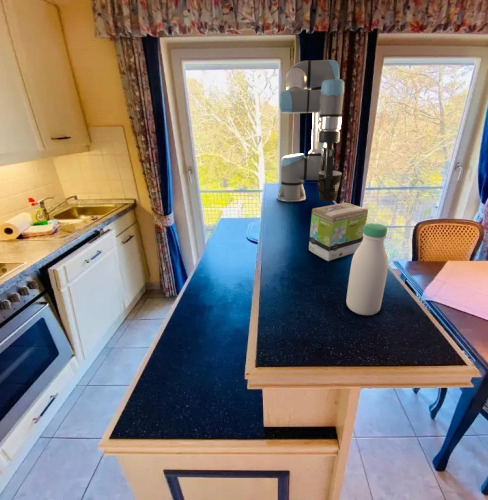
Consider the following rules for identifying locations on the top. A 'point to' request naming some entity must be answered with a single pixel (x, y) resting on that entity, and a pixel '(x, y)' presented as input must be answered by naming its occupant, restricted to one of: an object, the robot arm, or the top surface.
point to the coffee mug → (334, 185)
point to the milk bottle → (368, 272)
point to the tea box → (336, 230)
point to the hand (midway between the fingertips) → (324, 194)
